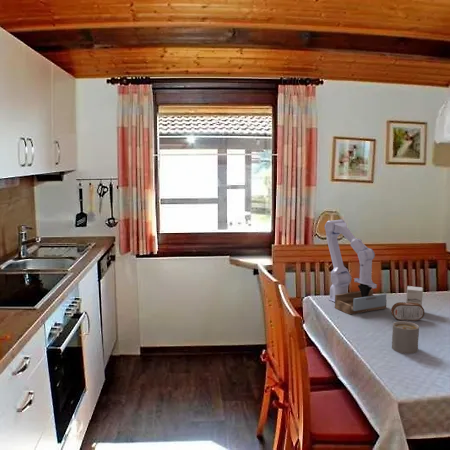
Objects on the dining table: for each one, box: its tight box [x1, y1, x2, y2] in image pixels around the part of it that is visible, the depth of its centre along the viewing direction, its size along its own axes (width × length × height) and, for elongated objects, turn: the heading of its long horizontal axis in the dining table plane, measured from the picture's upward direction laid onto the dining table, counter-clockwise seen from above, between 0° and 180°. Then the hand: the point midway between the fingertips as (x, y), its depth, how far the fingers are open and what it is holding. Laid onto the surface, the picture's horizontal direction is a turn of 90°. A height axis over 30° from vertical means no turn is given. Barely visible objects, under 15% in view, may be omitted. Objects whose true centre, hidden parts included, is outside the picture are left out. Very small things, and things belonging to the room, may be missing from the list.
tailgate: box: [353, 293, 387, 311], centre depth 250 cm, size 2×20×6 cm, turn 115°
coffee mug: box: [391, 320, 420, 355], centre depth 204 cm, size 13×10×10 cm
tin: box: [390, 301, 425, 322], centre depth 238 cm, size 15×3×8 cm, turn 84°
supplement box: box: [405, 285, 424, 307], centre depth 249 cm, size 7×7×13 cm
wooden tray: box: [334, 289, 387, 315], centre depth 257 cm, size 12×24×7 cm, turn 115°
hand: (364, 298), depth 254 cm, fingers closed
